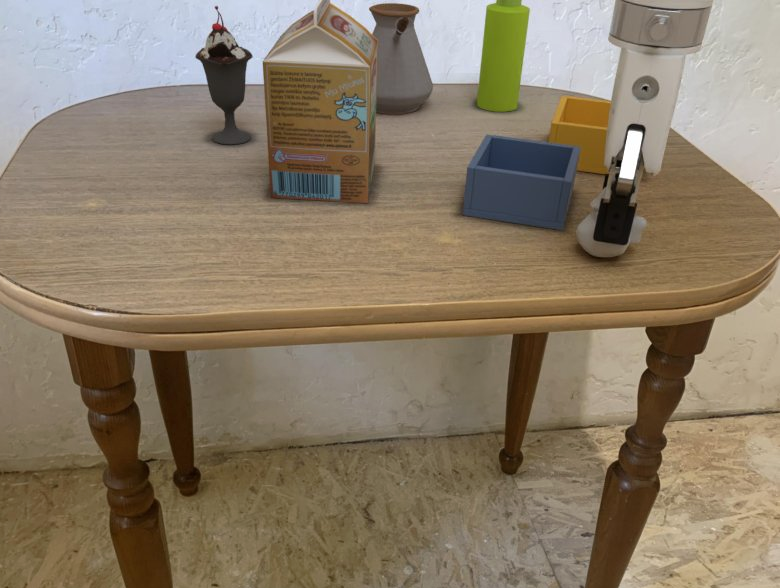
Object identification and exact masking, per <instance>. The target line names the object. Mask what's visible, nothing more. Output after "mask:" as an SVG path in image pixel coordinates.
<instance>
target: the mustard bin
mask: <svg viewBox="0 0 780 588" xmlns="http://www.w3.org/2000/svg"><path fill="white" fill-rule="evenodd" d="M610 105H611V100H604V99H596V98H587V97H580V96H579V97H578V96H571V95H569V96H568V95H563V94H562V95H561V97H560V99H559V102H558V105H557V107H556V110H555V112H554V114H553V118H552V120H551V123H550V127H549V135H548V140H547V142H549V143H557V144H565V145H572V146H579V147H581V150H580V155H579V160H578V166H577V171H576V172H585V173H591V174H592V173H593V174H598V175H599V174H600V175H605V174H609V170H608V169H607V168H606V167H605V165H604V157H605V145H606V134H607V126H608V118H609V111H610ZM644 171H645V165H644V167H643V171H642V172H643V174H642V176H641V180H642V179H643V176H644ZM634 177H635V176H634Z"/></svg>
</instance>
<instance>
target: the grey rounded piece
mask: <svg viewBox="0 0 780 588" xmlns="http://www.w3.org/2000/svg"><path fill="white" fill-rule="evenodd" d="M615 180H616V179H615V178H614V182H615ZM605 192H606V187H605V188H604V189H603V190H602V189H601V191H600V193H599V194H598V195H597V197H595V198H594V199H593V200H592V201H591V202H590V204H589V205H590V207H591V212H590V213H589V214H588V215H587V216H586V217H584V219H583V220H582V221H581V222H580V223H579V224H578V226H577V228H576V232H575V235H576V240H577V242H578V243H579V245H580V247H582V249H583V250H584V251H585V252H586V253H588V254H589V255H590V256H593V257H597V258H614V257H617V256H622V255H623V254H624V253H625V252H626V250H627V248H628V247H629V246H630V245H638V244H639V243H640V242H641V240H642V233H643V232H644V231H645V229H646V228H647V225H648V221H647V219H645V218H644V217H643V216H641V215H640V216H639V215H635V216H634V220H633V224H632V228H631V232H630V237H629V241H628V243H627V244H626V245H617V244H611V243H605V242H598V241H595V240H594V239H593V234H594V230H595V225H596V220H597V216H598V211H599V206H600V201H601V198H604V197H605ZM611 193H612V192H611Z"/></svg>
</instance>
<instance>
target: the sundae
mask: <svg viewBox="0 0 780 588" xmlns="http://www.w3.org/2000/svg"><path fill="white" fill-rule="evenodd" d="M214 9H215V10H216V12H217V20H216V22H215V23H213V24H212V25H211V29H212V30H211V31H210V33H209V34H207V37H206V41H205V46H204V47H202V48H201V49H200V50H199V51H197V52H196V53H195V59H197V60H198V61H200V63H201V64H202V67H203V71H204V74H205V78H206V84H207V88H208V91H209V95H210V99H211V100H212V102H213V104H215V105H216V107H217V108H219V109H220V110H221V111H223V114H224V127H223V129H222V130H220V131H218V132H215V133H214V134H212V135H211V140H212V141H213V142H215V143H217V144H220V145H225V146H226V145H227V146H235V145H240V144H241V145H242V144H245V143H247V142H249V141H250V140H251V139H252V135H251V134H250V133H249V132H247V131H244V130H240V129H239V128H238V126H237V124H236V118H235V112H236V110H237V109H238V108H239V107H240V106H241V105H242V104H243V102H244V101H245V96H246V95H245V94H246V73H247V66H248V63H249V60H251V59H252V58H253V54H252V53H251V51H249V50H248V49H247V48H244V47H243V46H239V44H238V42H237V41H236V38H235V37H234V36H233V34H232V33H231V32H230V31H229V30H228V28H227V27H226V26H225V23H224V20H223V16H222V14H221V12H220V11H219V6H218V5H215V6H214ZM219 20H220V21H221V24H220V23H219V22H220V21H219Z"/></svg>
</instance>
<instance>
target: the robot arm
mask: <svg viewBox="0 0 780 588" xmlns="http://www.w3.org/2000/svg"><path fill="white" fill-rule="evenodd" d="M713 4H714V0H615V2H614V7H613V12H612V17H611V22H610V27H609V32H608V37H607V40H608V42H609V43H611V44H612V45H614V46H615V47H618V48H620V52H619V57H618V62H617V67H616V72H615V77H614V82H613V87H612V94H611V99H610V101H611V105H610V111H609V118H608V126H607V134H606V145H605V157H604V165H605V167H606V168H607V169H608V170H609V174H604V180H603V184H602V188H601V191H602V190H603V189H604V188H605V187H606V192H605V197H604V198H601V201H600V206H599V211H598V216H597V220H596V225H595V230H594V234H593V239H594V240H595V241H598V242H605V243H611V244H617V245H626V244H627V243H628V241H629V237H630V232H631V228H632V224H633V220H634V216H636V211H637V207H638V203H637V197H638V194H639V188H640V184H641V180H642V179H641V176H642V174H643V175H644V172H642V171H643V167H644V165H645V168H644V171H645V173H648V174H649V173H650V175H651V177H656V176H657V175H659V174H660V173H661V169H662V164H663V161H664V155H665V151H666V148H667V142H668V140H669V139H668V138H669V135H670V131H671V126H672V122H673V118H674V114H675V110H676V106H677V102H678V97H679V93H680V88H681V83H682V79H683V73H684V68H685V63H686V56H687V55H692V54H697V52H700V51H701V49H702V45H703V42H704V38H705V35H706V30H707V26H708V23H709V19H710V16H711V11H712V7H713ZM634 176H635V177H634ZM642 177H643V176H642ZM614 178H615V179H616V180H615V182H614ZM611 192H612V193H611Z"/></svg>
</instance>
